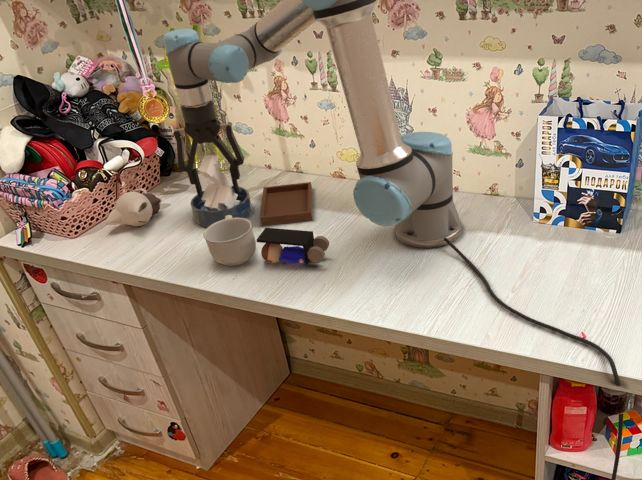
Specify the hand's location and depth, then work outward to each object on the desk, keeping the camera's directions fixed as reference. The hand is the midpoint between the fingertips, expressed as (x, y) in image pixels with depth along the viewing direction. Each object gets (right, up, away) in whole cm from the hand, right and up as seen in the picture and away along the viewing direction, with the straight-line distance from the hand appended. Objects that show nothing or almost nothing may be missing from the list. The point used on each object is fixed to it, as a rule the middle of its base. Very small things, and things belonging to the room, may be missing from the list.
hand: (218, 193), depth 174 cm
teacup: (+7, -18, -13) cm, 23 cm away
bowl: (0, -5, +4) cm, 6 cm away
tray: (+17, -3, +4) cm, 17 cm away
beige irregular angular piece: (+1, -5, +4) cm, 6 cm away
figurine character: (+22, -20, -18) cm, 34 cm away
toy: (-22, -7, +4) cm, 23 cm away
